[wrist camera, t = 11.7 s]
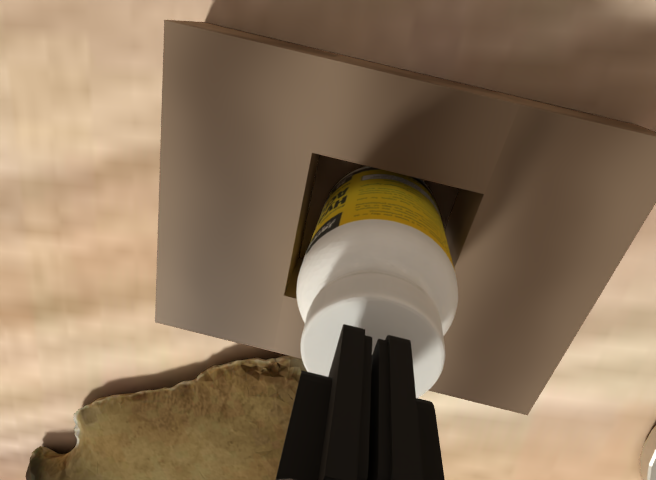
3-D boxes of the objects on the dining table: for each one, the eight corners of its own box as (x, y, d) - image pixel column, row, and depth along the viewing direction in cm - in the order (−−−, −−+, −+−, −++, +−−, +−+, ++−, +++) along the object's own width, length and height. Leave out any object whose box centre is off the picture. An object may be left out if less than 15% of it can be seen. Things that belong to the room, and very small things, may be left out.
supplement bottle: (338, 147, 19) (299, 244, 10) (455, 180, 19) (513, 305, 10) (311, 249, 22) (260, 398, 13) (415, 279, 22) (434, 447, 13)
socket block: (635, 124, 17) (690, 144, 14) (508, 363, 23) (527, 415, 20) (203, 22, 18) (164, 20, 14) (185, 283, 23) (155, 322, 20)
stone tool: (101, 526, 34) (398, 467, 28) (63, 579, 30) (397, 527, 24) (21, 409, 32) (327, 313, 25) (-32, 452, 28) (313, 352, 21)
